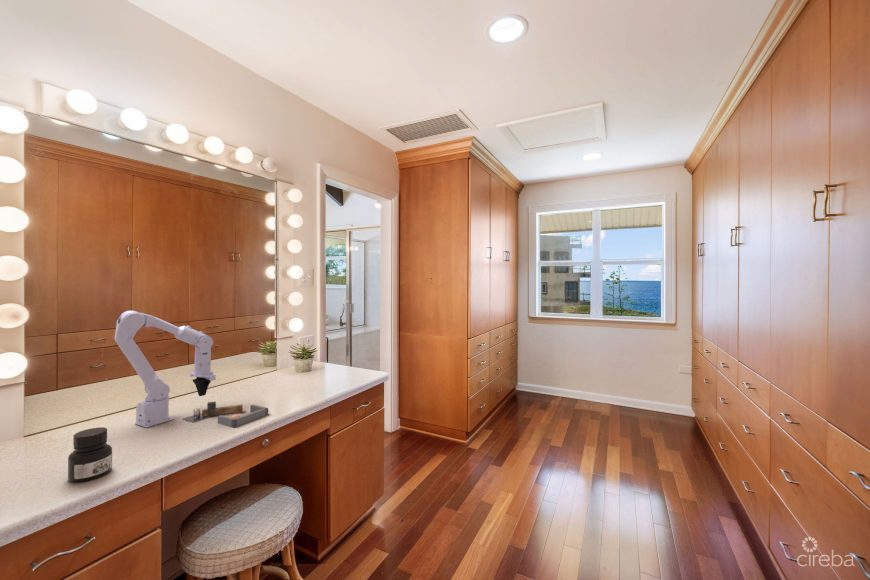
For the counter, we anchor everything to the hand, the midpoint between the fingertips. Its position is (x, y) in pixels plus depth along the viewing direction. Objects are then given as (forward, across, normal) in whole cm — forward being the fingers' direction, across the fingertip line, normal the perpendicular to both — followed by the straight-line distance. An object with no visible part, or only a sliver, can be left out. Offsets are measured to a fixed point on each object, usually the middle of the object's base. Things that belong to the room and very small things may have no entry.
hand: (202, 395), depth 150 cm
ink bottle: (+7, -23, +44) cm, 50 cm away
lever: (+6, -11, -1) cm, 13 cm away
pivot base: (+7, -6, +5) cm, 10 cm away
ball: (+5, -24, +2) cm, 25 cm away
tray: (+7, -23, -3) cm, 24 cm away
